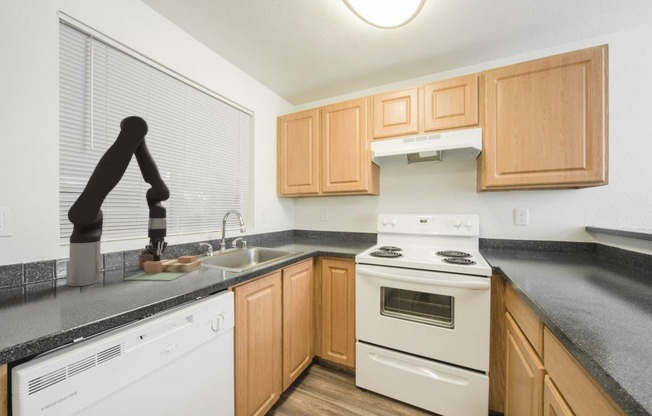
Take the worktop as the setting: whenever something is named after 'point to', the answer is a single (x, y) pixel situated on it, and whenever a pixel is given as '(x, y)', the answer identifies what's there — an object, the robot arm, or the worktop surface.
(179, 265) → the wooden tray
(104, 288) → the worktop surface
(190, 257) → the tile
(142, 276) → the mat
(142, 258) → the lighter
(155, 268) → the tile
